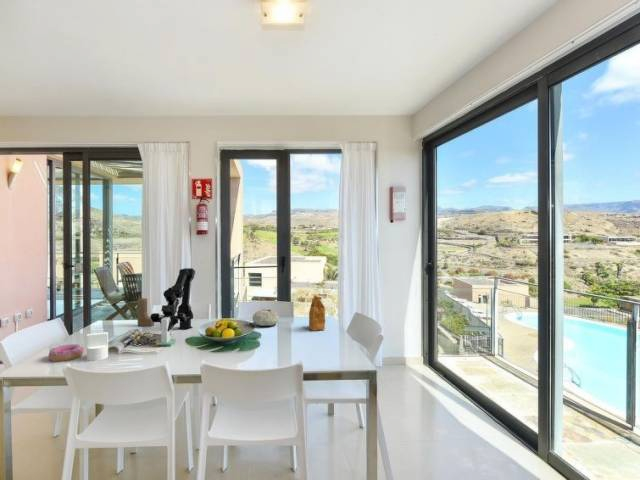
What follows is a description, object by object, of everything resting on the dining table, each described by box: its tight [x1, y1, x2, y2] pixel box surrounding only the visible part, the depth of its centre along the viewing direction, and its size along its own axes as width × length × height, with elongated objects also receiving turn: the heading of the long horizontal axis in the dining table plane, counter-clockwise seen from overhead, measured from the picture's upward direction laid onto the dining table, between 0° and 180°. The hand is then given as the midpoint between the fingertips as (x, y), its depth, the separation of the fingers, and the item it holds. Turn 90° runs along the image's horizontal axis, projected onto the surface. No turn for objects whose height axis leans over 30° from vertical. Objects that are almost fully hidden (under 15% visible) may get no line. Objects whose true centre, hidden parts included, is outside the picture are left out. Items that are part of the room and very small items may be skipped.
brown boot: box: [137, 297, 155, 327], centre depth 239 cm, size 9×4×18 cm, turn 92°
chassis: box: [129, 331, 157, 345], centre depth 204 cm, size 12×12×4 cm
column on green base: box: [155, 317, 176, 346], centre depth 199 cm, size 8×8×14 cm
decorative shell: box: [252, 308, 280, 327], centre depth 243 cm, size 18×18×10 cm
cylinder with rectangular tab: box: [86, 331, 109, 362], centre depth 178 cm, size 9×9×12 cm
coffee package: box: [308, 294, 326, 332], centre depth 234 cm, size 10×12×22 cm
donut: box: [48, 343, 84, 362], centre depth 178 cm, size 14×14×5 cm
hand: (164, 331), depth 198 cm, fingers closed on column on green base, 3 cm apart
